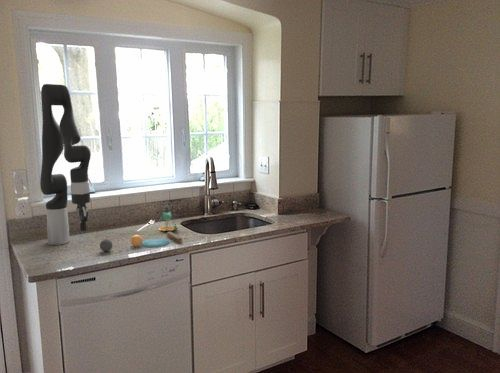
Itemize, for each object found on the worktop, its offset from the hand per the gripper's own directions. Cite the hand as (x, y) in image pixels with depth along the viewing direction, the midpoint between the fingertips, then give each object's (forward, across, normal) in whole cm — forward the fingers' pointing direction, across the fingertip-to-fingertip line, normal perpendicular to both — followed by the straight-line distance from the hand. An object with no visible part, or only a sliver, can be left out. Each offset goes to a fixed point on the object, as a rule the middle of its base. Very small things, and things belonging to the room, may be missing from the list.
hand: (83, 230), depth 193 cm
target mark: (+11, 0, +32) cm, 34 cm away
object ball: (+8, 0, +23) cm, 25 cm away
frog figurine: (+12, -18, +46) cm, 51 cm away
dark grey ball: (+8, 0, +9) cm, 13 cm away
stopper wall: (+11, 0, +42) cm, 44 cm away
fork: (+12, -33, +39) cm, 52 cm away
